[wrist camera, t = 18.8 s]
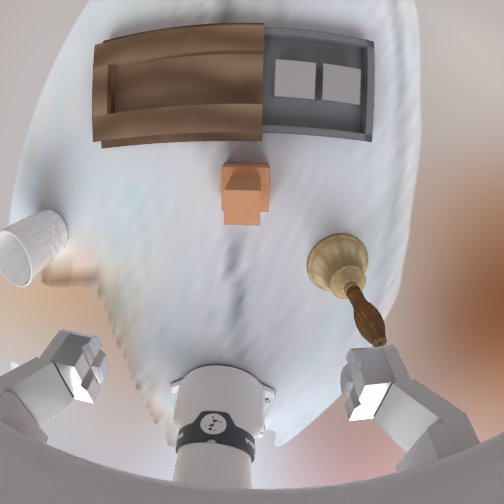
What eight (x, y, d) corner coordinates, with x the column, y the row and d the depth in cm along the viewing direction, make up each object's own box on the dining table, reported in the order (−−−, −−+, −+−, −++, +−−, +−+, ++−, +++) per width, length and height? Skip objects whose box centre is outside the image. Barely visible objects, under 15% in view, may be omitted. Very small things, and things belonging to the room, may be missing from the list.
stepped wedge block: (267, 204, 34) (271, 235, 25) (225, 203, 34) (212, 234, 25) (269, 164, 32) (273, 180, 23) (224, 163, 32) (211, 179, 23)
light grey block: (309, 101, 29) (314, 99, 26) (272, 98, 29) (274, 95, 26) (310, 68, 27) (315, 63, 24) (274, 64, 27) (275, 59, 24)
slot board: (261, 140, 31) (261, 142, 28) (106, 147, 31) (93, 150, 28) (263, 26, 25) (264, 17, 22) (107, 42, 25) (95, 37, 23)
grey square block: (350, 106, 29) (359, 104, 26) (316, 101, 29) (322, 99, 26) (352, 73, 27) (360, 69, 24) (317, 68, 27) (323, 63, 24)
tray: (364, 140, 31) (371, 141, 29) (261, 131, 31) (261, 132, 29) (366, 46, 26) (373, 41, 24) (263, 33, 26) (264, 27, 24)
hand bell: (315, 228, 36) (352, 302, 21) (375, 239, 36) (433, 310, 21) (300, 286, 39) (320, 376, 24) (356, 293, 39) (395, 376, 25)
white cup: (43, 194, 34) (-2, 217, 25) (79, 226, 36) (38, 257, 27) (29, 233, 36) (-11, 261, 27) (62, 263, 38) (25, 298, 29)
